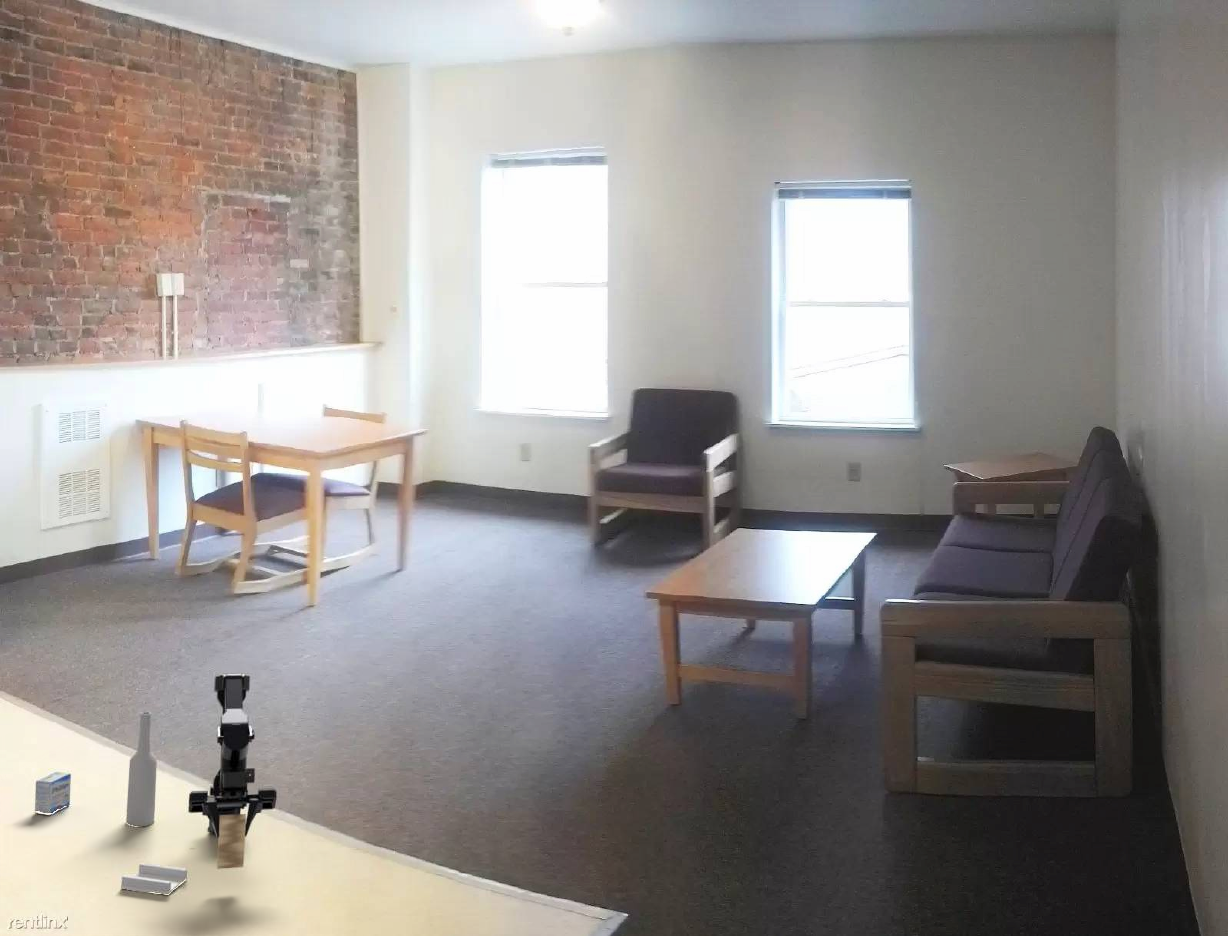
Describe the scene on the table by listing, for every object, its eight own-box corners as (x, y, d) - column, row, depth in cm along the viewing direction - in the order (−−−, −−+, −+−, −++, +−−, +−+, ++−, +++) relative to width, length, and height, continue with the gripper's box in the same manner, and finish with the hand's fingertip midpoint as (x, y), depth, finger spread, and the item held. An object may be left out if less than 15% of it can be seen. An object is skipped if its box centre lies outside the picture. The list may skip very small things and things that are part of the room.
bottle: (159, 819, 300) (164, 710, 299) (146, 828, 294) (151, 718, 292) (134, 816, 301) (139, 708, 299) (120, 825, 295) (126, 715, 293)
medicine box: (49, 816, 297) (51, 782, 296) (33, 814, 298) (35, 780, 297) (70, 806, 305) (71, 773, 304) (54, 803, 305) (56, 771, 305)
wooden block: (217, 868, 261) (219, 820, 261) (217, 863, 264) (219, 815, 263) (243, 867, 263) (245, 819, 262) (242, 861, 266) (245, 814, 265)
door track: (120, 889, 260) (121, 877, 259) (141, 874, 268) (142, 862, 268) (167, 896, 258) (168, 883, 258) (186, 880, 266) (187, 868, 266)
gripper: (191, 756, 263) (188, 823, 253) (278, 753, 269) (278, 819, 259) (189, 778, 271) (186, 844, 261) (274, 775, 277) (274, 840, 267)
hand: (231, 836), depth 262 cm, fingers closed on wooden block, 5 cm apart
